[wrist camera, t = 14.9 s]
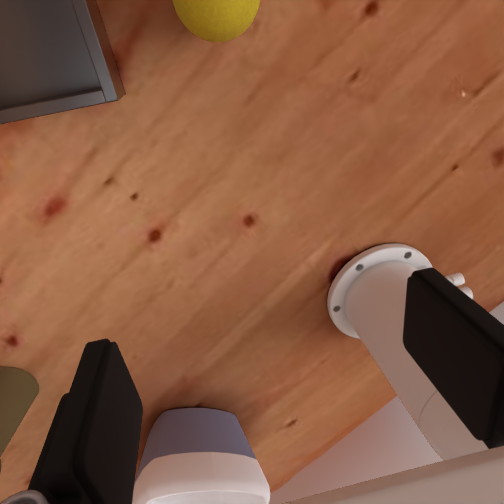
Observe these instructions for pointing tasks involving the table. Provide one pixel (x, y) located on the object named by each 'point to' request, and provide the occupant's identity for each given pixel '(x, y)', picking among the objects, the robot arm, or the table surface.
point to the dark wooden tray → (54, 58)
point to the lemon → (216, 17)
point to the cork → (14, 401)
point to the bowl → (199, 461)
